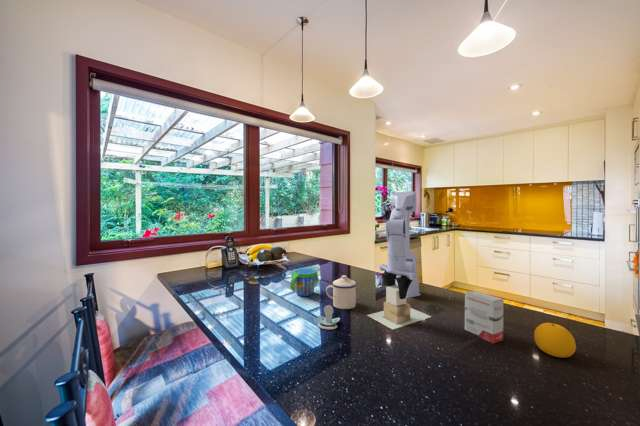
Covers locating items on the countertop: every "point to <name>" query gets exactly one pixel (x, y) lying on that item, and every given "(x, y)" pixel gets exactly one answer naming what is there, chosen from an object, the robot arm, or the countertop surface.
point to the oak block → (397, 312)
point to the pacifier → (328, 319)
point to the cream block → (394, 296)
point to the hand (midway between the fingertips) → (396, 296)
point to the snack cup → (304, 281)
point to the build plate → (392, 325)
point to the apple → (554, 340)
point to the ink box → (484, 316)
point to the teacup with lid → (343, 293)
